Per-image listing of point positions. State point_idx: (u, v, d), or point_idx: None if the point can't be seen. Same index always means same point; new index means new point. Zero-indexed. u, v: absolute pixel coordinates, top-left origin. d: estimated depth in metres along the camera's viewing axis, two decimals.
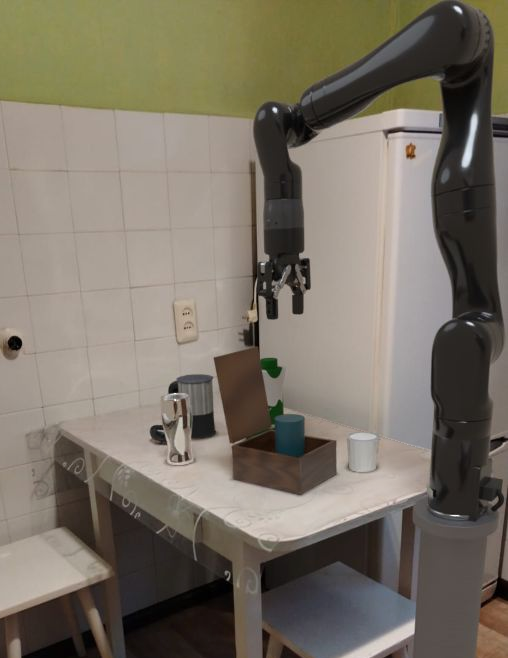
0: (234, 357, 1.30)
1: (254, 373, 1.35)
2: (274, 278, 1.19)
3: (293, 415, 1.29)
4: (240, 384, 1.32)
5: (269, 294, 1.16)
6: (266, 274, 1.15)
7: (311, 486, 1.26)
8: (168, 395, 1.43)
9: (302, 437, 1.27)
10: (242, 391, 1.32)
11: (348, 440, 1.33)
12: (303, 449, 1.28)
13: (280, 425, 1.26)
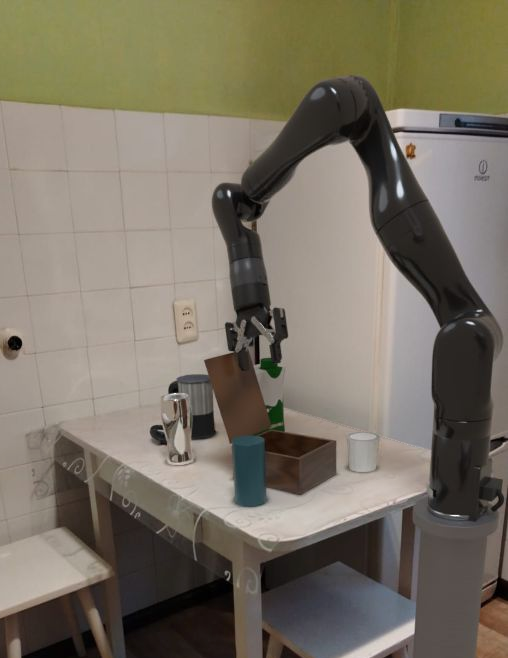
0: (225, 359, 1.32)
1: (248, 374, 1.36)
2: None
3: (253, 437, 1.19)
4: (234, 385, 1.33)
5: (229, 349, 1.33)
6: None
7: (311, 486, 1.26)
8: (168, 395, 1.43)
9: (262, 461, 1.17)
10: (237, 392, 1.33)
11: (348, 440, 1.33)
12: (263, 474, 1.18)
13: (237, 448, 1.16)
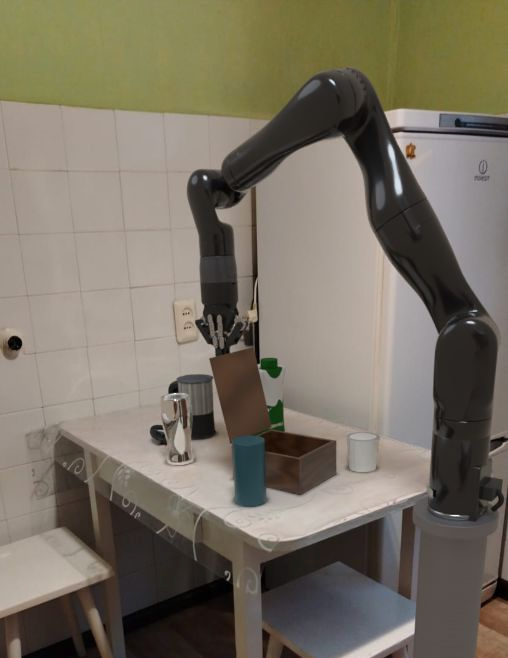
0: (230, 358, 1.31)
1: (251, 374, 1.36)
2: None
3: (253, 437, 1.19)
4: (237, 384, 1.32)
5: (208, 343, 1.34)
6: None
7: (311, 486, 1.26)
8: (168, 395, 1.43)
9: (262, 461, 1.17)
10: (240, 391, 1.33)
11: (348, 440, 1.33)
12: (263, 474, 1.18)
13: (237, 448, 1.16)
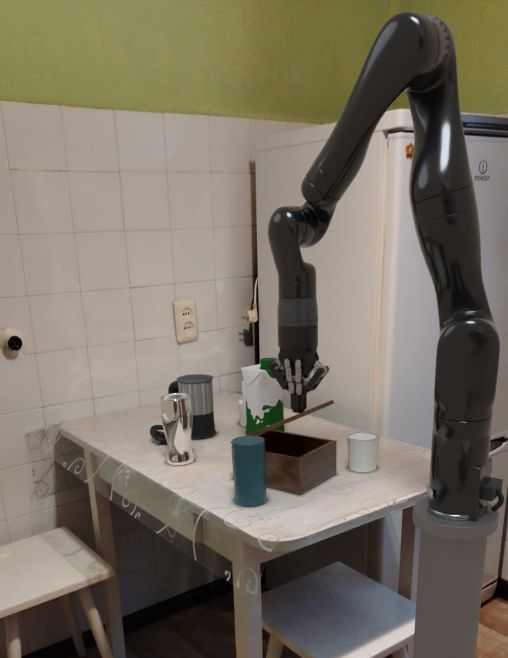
0: None
1: None
2: None
3: (253, 437, 1.19)
4: None
5: (283, 388, 1.25)
6: None
7: (311, 486, 1.26)
8: (168, 395, 1.43)
9: (262, 461, 1.17)
10: None
11: (348, 440, 1.33)
12: (263, 474, 1.18)
13: (237, 448, 1.16)
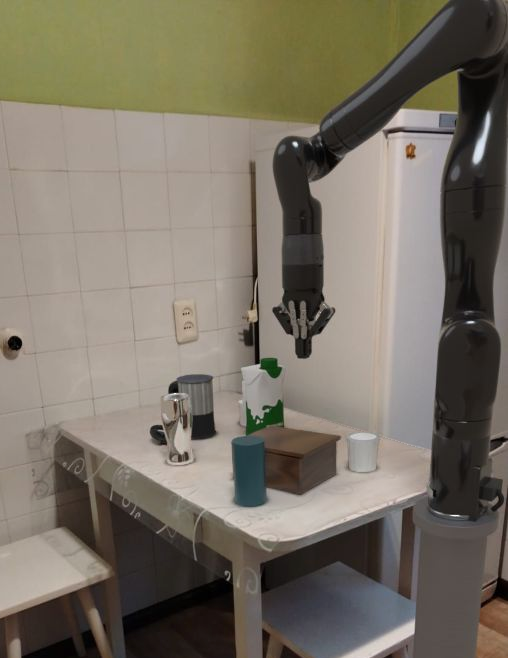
0: None
1: None
2: None
3: (253, 437, 1.19)
4: None
5: (287, 332, 1.20)
6: None
7: (311, 486, 1.26)
8: (168, 395, 1.43)
9: (262, 461, 1.17)
10: None
11: (348, 440, 1.33)
12: (263, 474, 1.18)
13: (237, 448, 1.16)
